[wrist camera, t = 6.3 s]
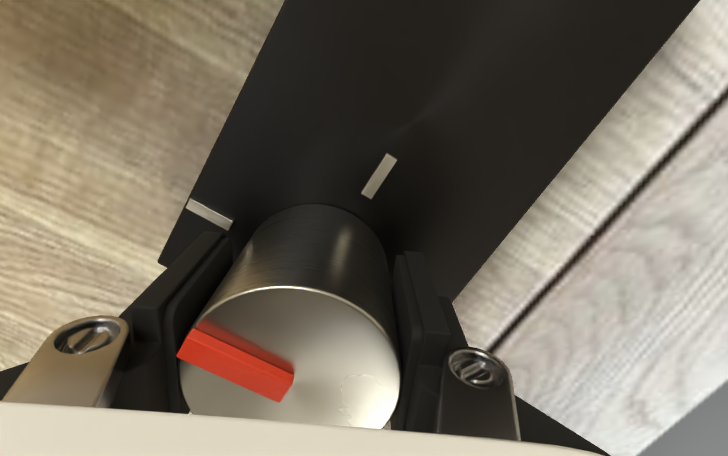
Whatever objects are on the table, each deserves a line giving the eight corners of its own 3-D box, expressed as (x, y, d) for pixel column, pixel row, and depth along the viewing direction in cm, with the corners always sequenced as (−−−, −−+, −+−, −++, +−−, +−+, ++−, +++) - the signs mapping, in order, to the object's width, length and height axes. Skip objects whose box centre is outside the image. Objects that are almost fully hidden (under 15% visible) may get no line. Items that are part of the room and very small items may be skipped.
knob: (415, 249, 12) (451, 364, 8) (341, 351, 14) (330, 504, 9) (286, 174, 12) (230, 250, 7) (221, 291, 13) (134, 425, 8)
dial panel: (361, 375, 17) (361, 416, 15) (162, 277, 15) (132, 308, 13) (689, -41, 11) (760, -65, 9) (439, -273, 10) (459, -365, 8)
